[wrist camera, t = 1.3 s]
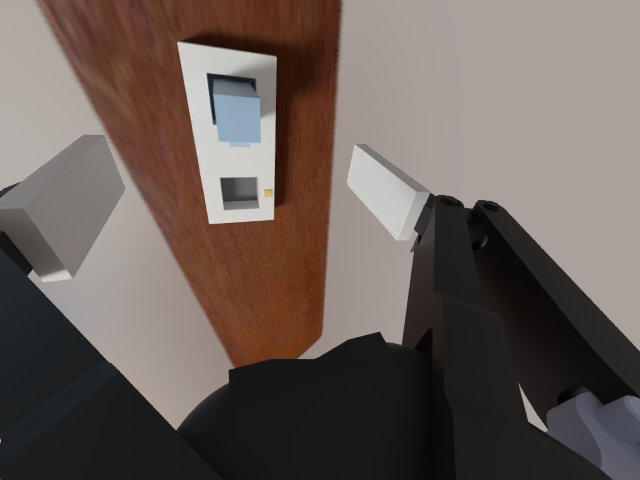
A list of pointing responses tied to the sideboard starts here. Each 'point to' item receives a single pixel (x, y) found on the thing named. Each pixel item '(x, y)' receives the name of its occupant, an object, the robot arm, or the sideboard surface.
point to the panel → (218, 157)
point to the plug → (237, 112)
